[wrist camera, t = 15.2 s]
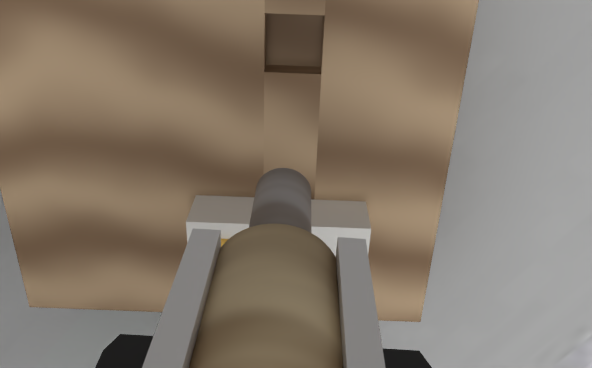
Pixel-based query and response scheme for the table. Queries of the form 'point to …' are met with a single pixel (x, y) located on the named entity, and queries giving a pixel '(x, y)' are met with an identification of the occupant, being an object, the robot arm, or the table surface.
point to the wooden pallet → (220, 130)
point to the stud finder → (324, 218)
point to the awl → (273, 288)
